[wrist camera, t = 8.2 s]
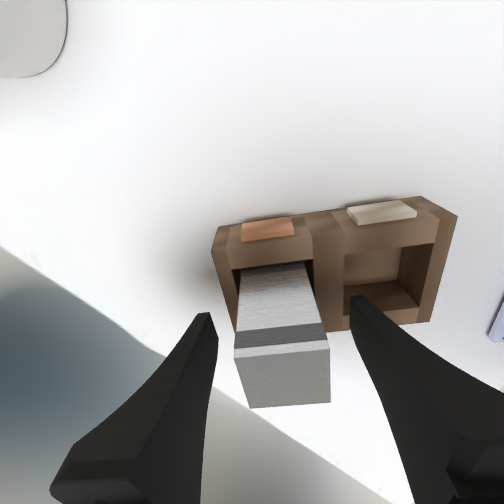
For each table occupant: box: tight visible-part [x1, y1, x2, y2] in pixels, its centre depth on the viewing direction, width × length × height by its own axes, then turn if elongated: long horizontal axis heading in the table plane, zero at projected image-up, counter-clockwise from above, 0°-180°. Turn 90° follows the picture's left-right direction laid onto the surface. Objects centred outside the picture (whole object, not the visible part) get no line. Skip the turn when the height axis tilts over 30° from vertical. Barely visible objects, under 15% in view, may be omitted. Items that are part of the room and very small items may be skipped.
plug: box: [234, 260, 331, 409], centre depth 13 cm, size 3×3×8 cm
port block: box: [211, 196, 458, 333], centre depth 15 cm, size 12×7×3 cm, turn 100°
